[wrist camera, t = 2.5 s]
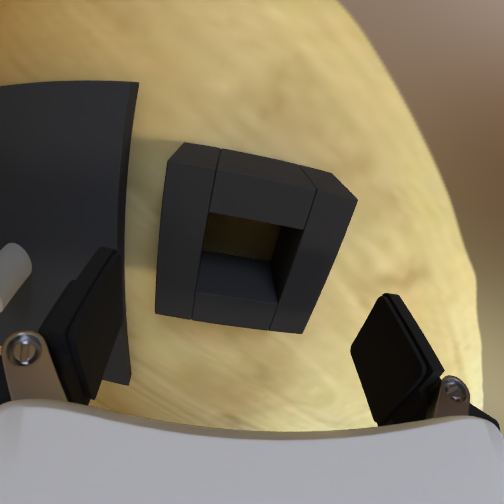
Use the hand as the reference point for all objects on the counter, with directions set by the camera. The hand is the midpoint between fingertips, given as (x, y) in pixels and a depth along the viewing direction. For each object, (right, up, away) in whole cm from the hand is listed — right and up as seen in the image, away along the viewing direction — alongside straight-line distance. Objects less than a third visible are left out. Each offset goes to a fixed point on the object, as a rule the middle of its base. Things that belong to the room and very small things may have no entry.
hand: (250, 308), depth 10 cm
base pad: (-14, +2, +5) cm, 15 cm away
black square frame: (0, +3, +5) cm, 6 cm away
